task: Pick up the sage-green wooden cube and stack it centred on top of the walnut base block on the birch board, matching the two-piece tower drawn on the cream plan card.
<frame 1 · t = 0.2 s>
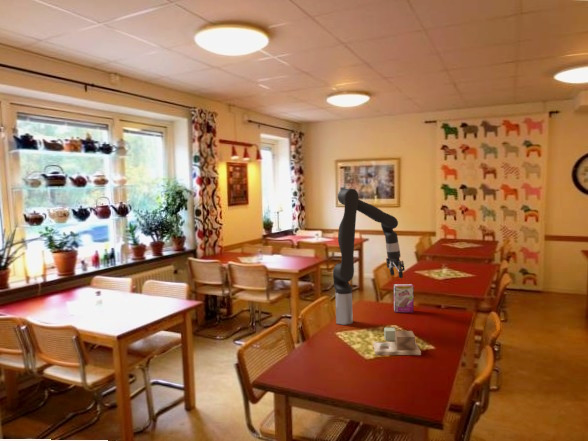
hand: (396, 276, 245), 22 cm above the table, tool pointing down, fingers open, 8 cm apart
birch board: (396, 349, 191), on the table
candy bar box: (403, 312, 249), on the table
sage cube: (390, 339, 205), on the table
walnut base block: (404, 349, 191), resting on birch board
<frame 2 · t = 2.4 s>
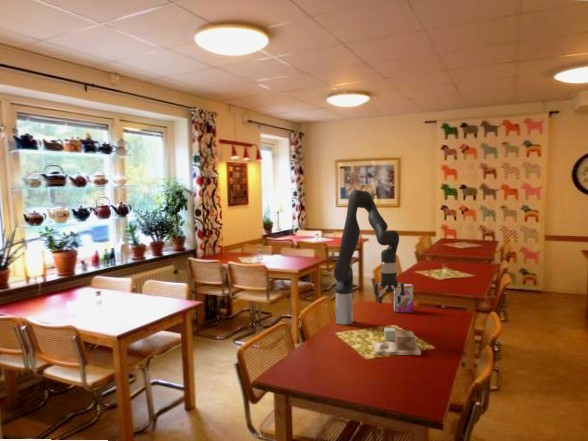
hand: (389, 303, 204), 18 cm above the table, tool pointing down, fingers open, 8 cm apart
nothing on the table moved.
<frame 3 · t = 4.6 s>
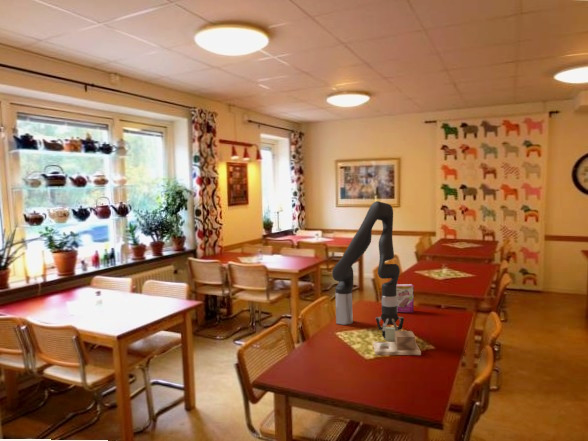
hand: (390, 337, 205), 1 cm above the table, tool pointing down, fingers closed on sage cube, 5 cm apart
sage cube: (390, 338, 205), on the table, touching gripper
everything else where it was.
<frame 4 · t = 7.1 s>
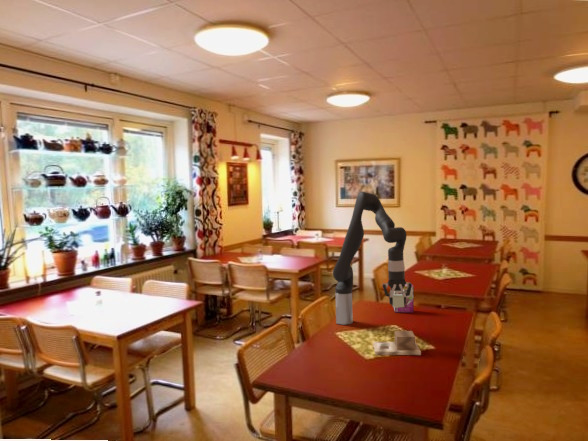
hand: (397, 304, 198), 19 cm above the table, tool pointing down, fingers closed on sage cube, 5 cm apart
sage cube: (397, 305, 198), point 18 cm above the table, touching gripper
everything else where it was.
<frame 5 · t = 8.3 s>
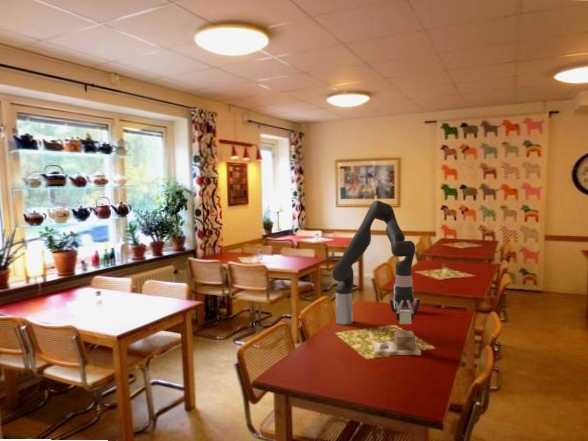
hand: (404, 320, 190), 14 cm above the table, tool pointing down, fingers closed on sage cube, 5 cm apart
sage cube: (404, 322, 190), point 13 cm above the table, touching gripper
everything else where it was.
when the fingers open (10 cm above the table, at t = 9.5 s): sage cube drops 1 cm, resting on walnut base block.
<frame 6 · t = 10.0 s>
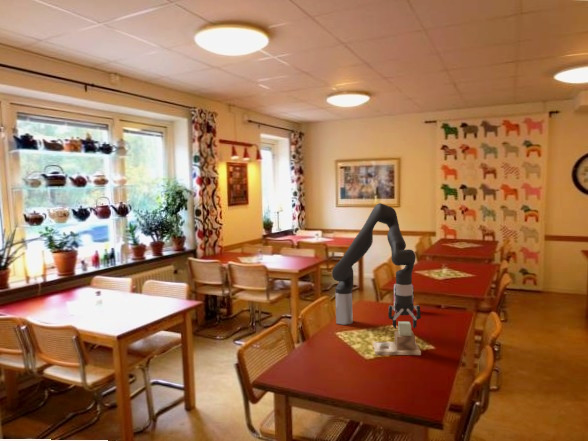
hand: (404, 327, 190), 10 cm above the table, tool pointing down, fingers open, 8 cm apart
sage cube: (404, 333, 190), point 7 cm above the table, touching walnut base block
everything else where it was.
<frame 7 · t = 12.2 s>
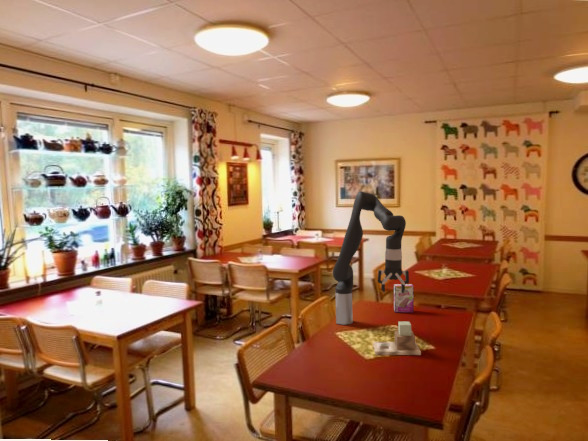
hand: (392, 292, 195), 26 cm above the table, tool pointing down, fingers open, 8 cm apart
nothing on the table moved.
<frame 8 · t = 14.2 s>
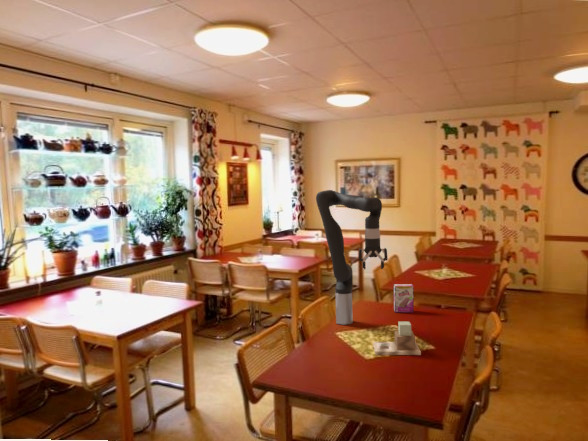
hand: (373, 268, 210), 34 cm above the table, tool pointing down, fingers open, 8 cm apart
nothing on the table moved.
at the end: sage cube 0.1 cm off-centre on the walnut base block, point 7.5 cm above the walnut base block's base; sage cube tilted 0°; the gripper is holding nothing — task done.
